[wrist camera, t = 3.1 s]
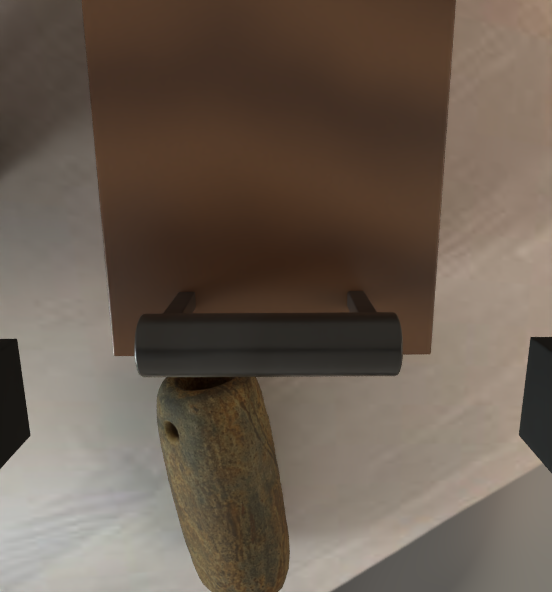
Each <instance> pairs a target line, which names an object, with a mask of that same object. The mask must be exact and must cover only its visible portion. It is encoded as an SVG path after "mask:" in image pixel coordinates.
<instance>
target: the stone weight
mask: <svg viewBox="0 0 552 592" xmlns="http://www.w3.org/2000/svg"><path fill="white" fill-rule="evenodd" d="M157 422H158V429H159V436H160V441H161V448H162V452H163V456H164V461H165V465H166V470H167V475H168V480H169V483H170V487H171V491H172V495H173V499H174V502H175V506H176V510H177V513H178V517H179V521H180V524H181V528H182V531H183V535H184V538H185V541H186V544H187V547H188V549H189V552H190V554H191V558H192V561H193V564H194V566H195V569H196V571H197V573H198V576H199V578H200V579H201V581H202V583H203V584H204V585H205V586H206V587H207V588H208V589H209V590H210V591H211V592H278V591H279V590H280V589H281V588H282V587H283V584H284V582H285V579H286V575H287V572H288V569H289V555H290V550H289V535H288V527H287V522H286V515H285V507H284V501H283V493H282V487H281V482H280V475H279V469H278V464H277V459H276V455H275V448H274V442H273V437H272V432H271V427H270V423H269V417H268V414H267V411H266V408H265V404H264V400H263V396H262V392H261V390H260V387H259V384H258V381H257V379H256V377H167V378H166V379H165V380H164V381H163V383H162V385H161V387H160V389H159V392H158V396H157Z"/></svg>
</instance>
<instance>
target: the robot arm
mask: <svg viewBox="0 0 552 592" xmlns="http://www.w3.org/2000/svg"><path fill="white" fill-rule="evenodd" d="M519 436H520V437H521V438H522V439H523V440H524V442H525V443H526V444H527V445H528V446H529V447H530V449H531V450H532V451H533V452H534V453H535V454H536V456H537V457H538V458H539V459H540V460H541V461H542V463H543V464H544V465H545V466H546V467H547V468H548V470H549V471H550V472H551V473H552V337H531V339H530V347H529V355H528V364H527V372H526V380H525V388H524V397H523V405H522V413H521V421H520V430H519ZM29 437H30V429H29V421H28V414H27V407H26V400H25V392H24V385H23V378H22V371H21V364H20V356H19V349H18V342H17V339H0V468H1V467H2V466H3V465H4V464H5V463H6V462H7V461H8V460H9V459H10V457H11V456H12V455H13V454H14V453H15V452H16V451H17V450H18V449H19V448H20V446H21V445H22V444H23V443H24V442H25V441H26V440H27V439H28V438H29Z"/></svg>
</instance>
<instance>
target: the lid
mask: <svg viewBox="0 0 552 592" xmlns="http://www.w3.org/2000/svg"><path fill="white" fill-rule="evenodd" d="M455 6H456V0H82V11H83V22H84V33H85V44H86V55H87V66H88V77H89V88H90V99H91V110H92V121H93V132H94V143H95V154H96V165H97V176H98V187H99V198H100V209H101V220H102V231H103V242H104V253H105V264H106V275H107V286H108V297H109V308H110V319H111V330H112V341H113V352H114V356H135V362H136V367H137V370H138V373H139V375H140V376H142V377H319V376H396V375H398V374H399V372H400V369H401V365H402V357H403V354H430V353H431V341H432V327H433V313H434V299H435V285H436V271H437V257H438V243H439V229H440V215H441V201H442V187H443V173H444V159H445V145H446V131H447V117H448V103H449V89H450V75H451V61H452V47H453V33H454V20H455Z"/></svg>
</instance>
